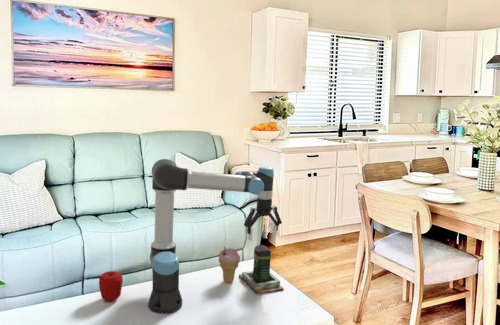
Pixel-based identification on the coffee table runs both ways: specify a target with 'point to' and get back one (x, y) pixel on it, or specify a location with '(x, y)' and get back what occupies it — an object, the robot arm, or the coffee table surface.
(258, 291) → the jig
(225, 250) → the ice cream cone
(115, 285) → the apple
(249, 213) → the robot arm
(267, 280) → the coffee jar
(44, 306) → the coffee table surface
